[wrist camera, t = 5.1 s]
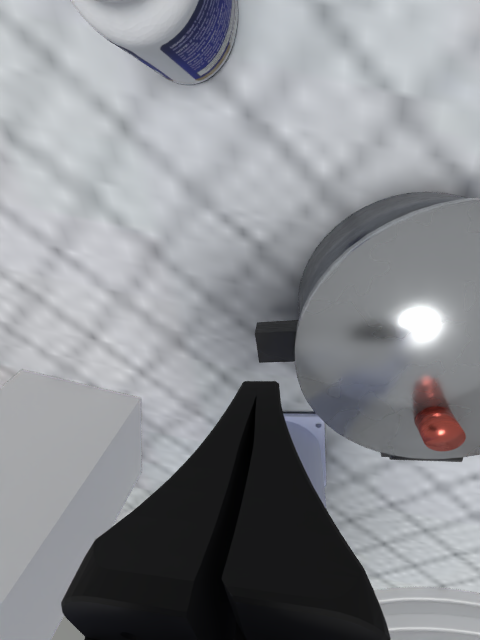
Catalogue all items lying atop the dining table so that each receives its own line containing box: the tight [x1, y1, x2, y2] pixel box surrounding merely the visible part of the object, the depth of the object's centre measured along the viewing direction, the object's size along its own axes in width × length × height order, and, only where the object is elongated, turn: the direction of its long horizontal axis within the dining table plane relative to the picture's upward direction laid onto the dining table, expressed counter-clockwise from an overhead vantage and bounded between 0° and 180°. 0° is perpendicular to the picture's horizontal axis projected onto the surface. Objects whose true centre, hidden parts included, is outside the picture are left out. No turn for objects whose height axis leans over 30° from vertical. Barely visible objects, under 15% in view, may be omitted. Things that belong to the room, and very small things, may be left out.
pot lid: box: [295, 198, 480, 462], centre depth 13 cm, size 14×14×2 cm
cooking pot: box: [255, 192, 466, 457], centre depth 17 cm, size 14×18×6 cm
